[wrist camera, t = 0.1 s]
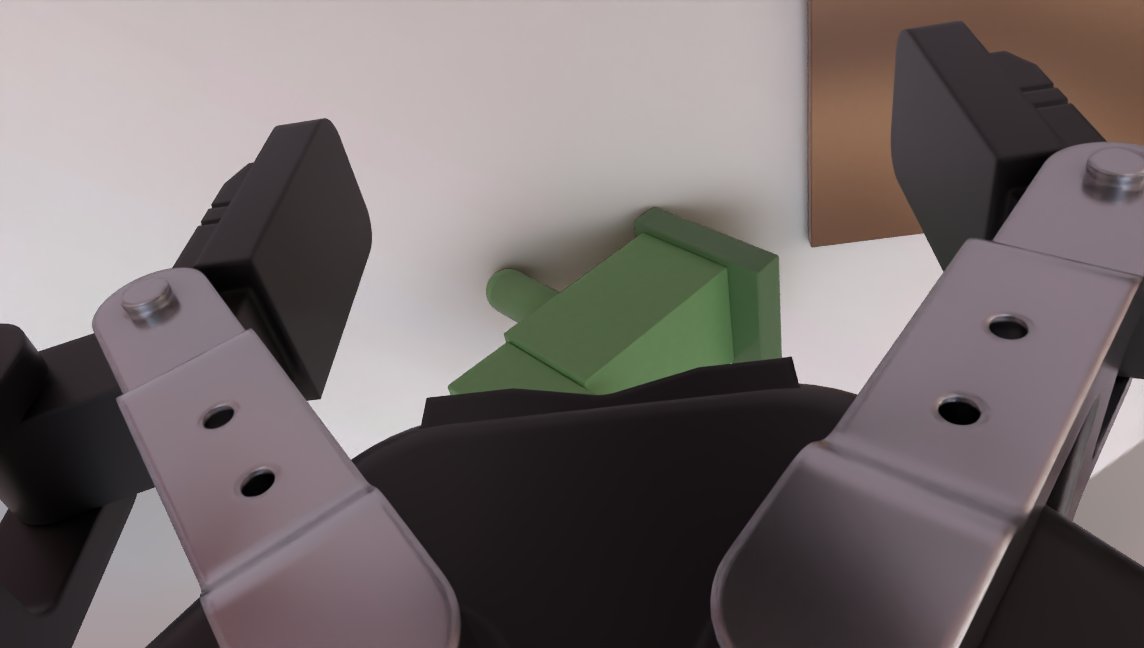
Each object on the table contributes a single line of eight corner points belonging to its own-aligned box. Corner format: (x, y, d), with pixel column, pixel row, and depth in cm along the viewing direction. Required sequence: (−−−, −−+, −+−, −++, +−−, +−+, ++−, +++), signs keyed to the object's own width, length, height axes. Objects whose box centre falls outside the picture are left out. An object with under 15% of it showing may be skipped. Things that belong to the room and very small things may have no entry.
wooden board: (807, -117, 26) (811, -112, 26) (1562, -252, 24) (1581, -249, 23) (807, 239, 34) (810, 248, 34) (1369, 167, 32) (1381, 175, 32)
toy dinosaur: (499, 327, 38) (469, 558, 29) (471, 230, 35) (426, 457, 26) (765, 295, 36) (821, 528, 27) (761, 191, 33) (822, 417, 24)
